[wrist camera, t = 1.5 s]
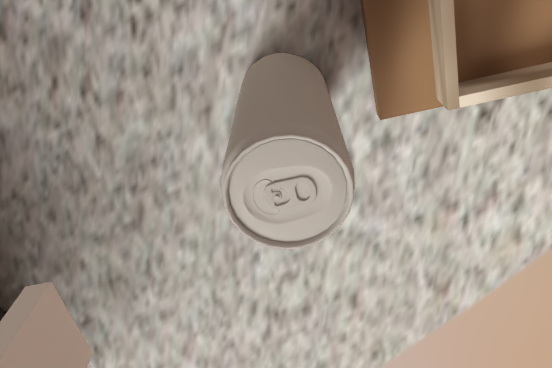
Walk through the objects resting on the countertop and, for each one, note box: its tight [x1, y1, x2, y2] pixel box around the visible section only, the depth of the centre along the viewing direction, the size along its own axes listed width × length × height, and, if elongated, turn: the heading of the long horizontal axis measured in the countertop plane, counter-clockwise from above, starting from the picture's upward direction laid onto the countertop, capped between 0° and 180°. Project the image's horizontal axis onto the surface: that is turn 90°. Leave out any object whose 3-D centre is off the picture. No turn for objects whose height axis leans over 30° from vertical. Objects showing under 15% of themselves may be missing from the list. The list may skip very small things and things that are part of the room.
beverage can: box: [221, 53, 355, 249], centre depth 22 cm, size 5×5×12 cm
